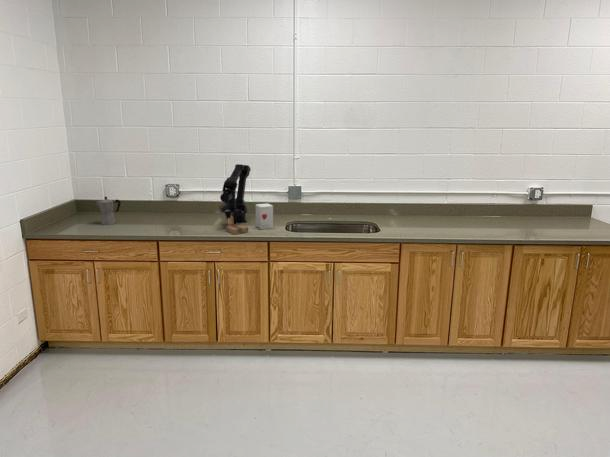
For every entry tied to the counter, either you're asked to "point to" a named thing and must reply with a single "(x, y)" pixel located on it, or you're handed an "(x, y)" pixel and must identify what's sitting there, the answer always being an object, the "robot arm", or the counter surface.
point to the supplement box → (264, 216)
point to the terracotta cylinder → (230, 221)
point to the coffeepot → (107, 210)
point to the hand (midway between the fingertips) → (231, 223)
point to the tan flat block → (237, 229)
